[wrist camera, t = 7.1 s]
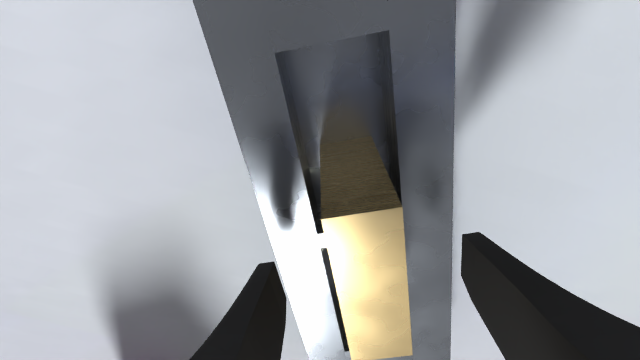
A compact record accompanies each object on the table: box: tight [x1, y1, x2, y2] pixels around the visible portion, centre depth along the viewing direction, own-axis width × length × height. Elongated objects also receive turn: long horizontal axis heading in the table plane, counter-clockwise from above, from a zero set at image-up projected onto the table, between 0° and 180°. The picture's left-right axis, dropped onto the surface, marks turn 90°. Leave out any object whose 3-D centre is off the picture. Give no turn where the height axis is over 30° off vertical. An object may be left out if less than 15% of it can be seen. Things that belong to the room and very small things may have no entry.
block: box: [193, 0, 456, 360], centre depth 15 cm, size 8×24×3 cm, turn 10°
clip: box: [320, 136, 413, 360], centre depth 14 cm, size 2×7×6 cm, turn 10°
